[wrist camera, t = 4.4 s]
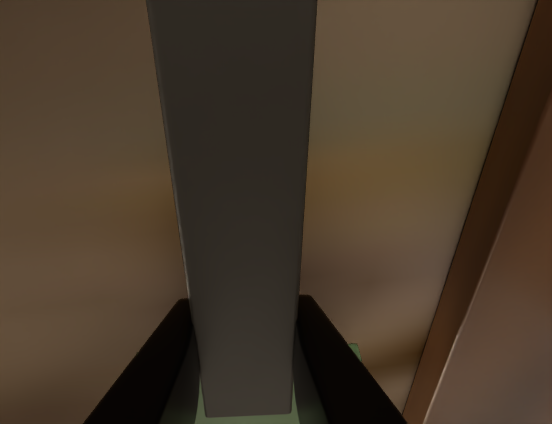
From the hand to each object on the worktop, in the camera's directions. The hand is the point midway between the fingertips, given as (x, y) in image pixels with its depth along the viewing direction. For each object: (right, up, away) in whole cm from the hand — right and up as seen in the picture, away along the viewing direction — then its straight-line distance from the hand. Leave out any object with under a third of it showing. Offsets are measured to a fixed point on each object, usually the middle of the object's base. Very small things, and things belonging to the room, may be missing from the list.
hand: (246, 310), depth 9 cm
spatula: (0, -1, +2) cm, 2 cm away
